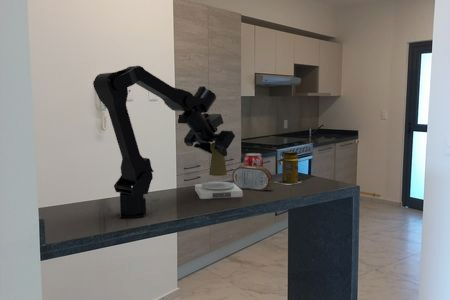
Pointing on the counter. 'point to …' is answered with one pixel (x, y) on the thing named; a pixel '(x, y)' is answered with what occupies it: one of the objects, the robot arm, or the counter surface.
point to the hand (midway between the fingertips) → (220, 154)
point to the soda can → (253, 160)
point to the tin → (252, 177)
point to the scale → (218, 190)
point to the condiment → (289, 168)
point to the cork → (217, 163)
